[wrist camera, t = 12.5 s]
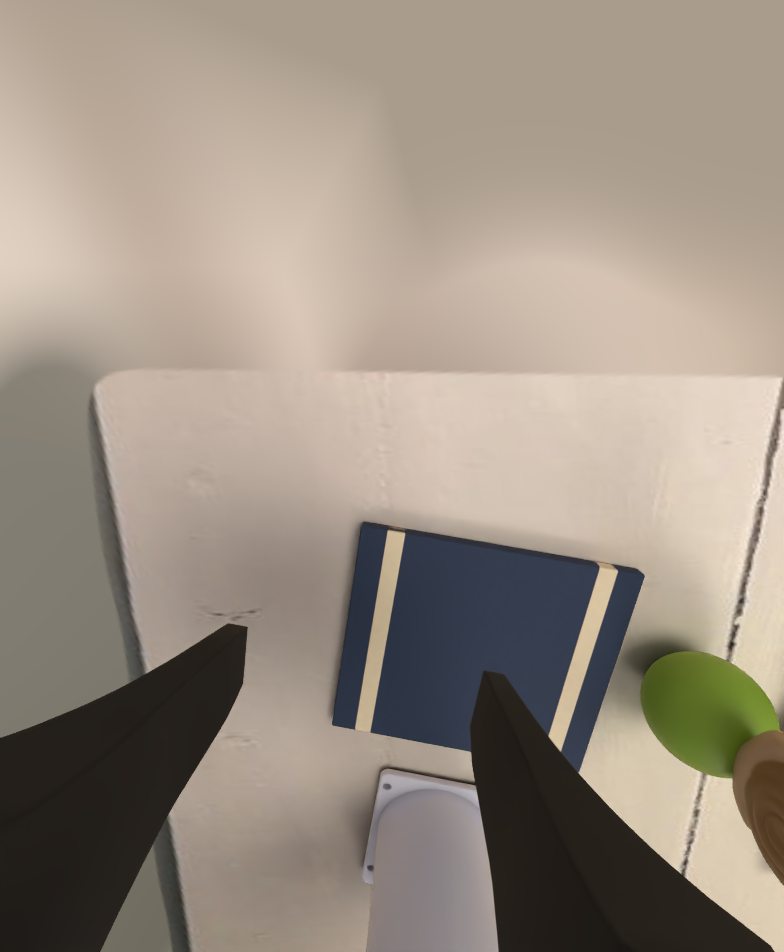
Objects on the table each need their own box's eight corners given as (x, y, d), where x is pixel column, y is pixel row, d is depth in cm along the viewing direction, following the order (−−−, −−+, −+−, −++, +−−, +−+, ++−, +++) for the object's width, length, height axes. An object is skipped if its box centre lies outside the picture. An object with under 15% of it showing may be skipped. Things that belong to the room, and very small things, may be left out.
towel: (574, 760, 24) (579, 773, 23) (334, 715, 25) (331, 726, 24) (637, 568, 21) (646, 575, 20) (363, 520, 22) (360, 525, 21)
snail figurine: (737, 618, 21) (1113, 894, 10) (709, 716, 23) (1009, 1059, 11) (634, 609, 22) (882, 868, 10) (613, 707, 23) (808, 1032, 12)
